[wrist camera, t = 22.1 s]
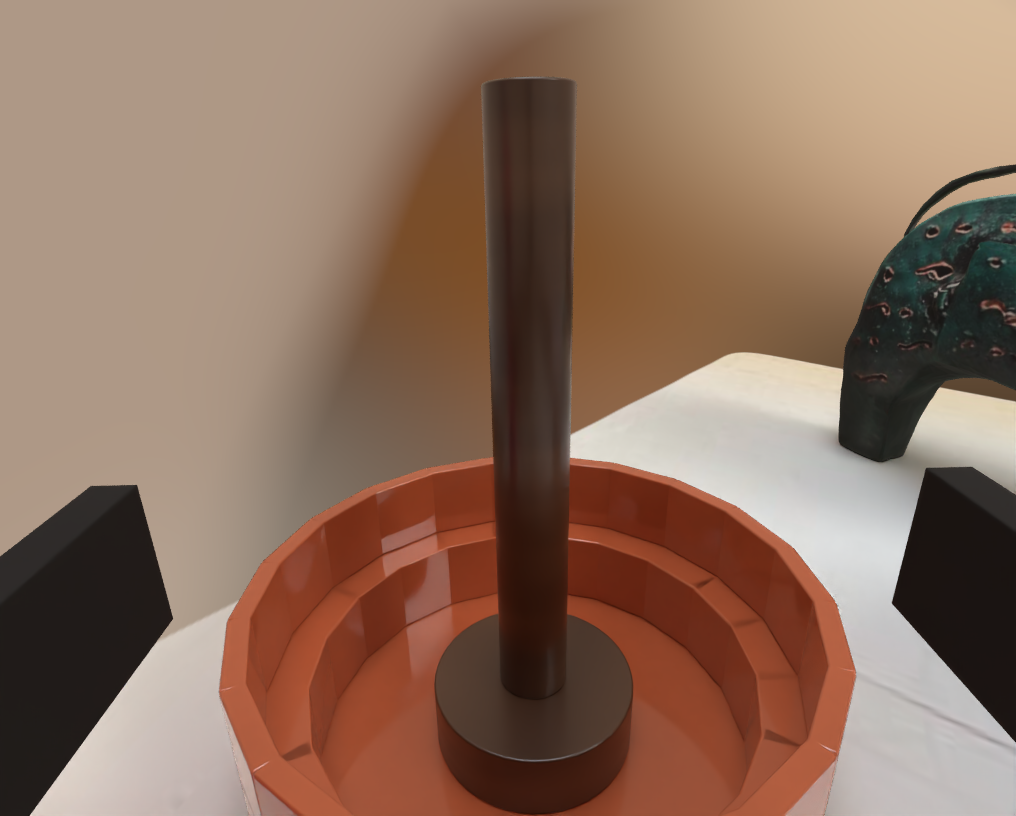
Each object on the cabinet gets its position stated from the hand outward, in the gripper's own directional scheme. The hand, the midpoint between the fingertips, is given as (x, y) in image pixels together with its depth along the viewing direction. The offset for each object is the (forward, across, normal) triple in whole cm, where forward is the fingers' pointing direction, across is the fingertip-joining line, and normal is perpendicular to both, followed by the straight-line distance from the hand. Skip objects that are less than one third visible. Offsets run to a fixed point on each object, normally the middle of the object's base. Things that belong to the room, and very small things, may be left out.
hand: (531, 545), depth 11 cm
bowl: (+6, 0, -11) cm, 12 cm away
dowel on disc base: (+6, 0, -10) cm, 12 cm away
